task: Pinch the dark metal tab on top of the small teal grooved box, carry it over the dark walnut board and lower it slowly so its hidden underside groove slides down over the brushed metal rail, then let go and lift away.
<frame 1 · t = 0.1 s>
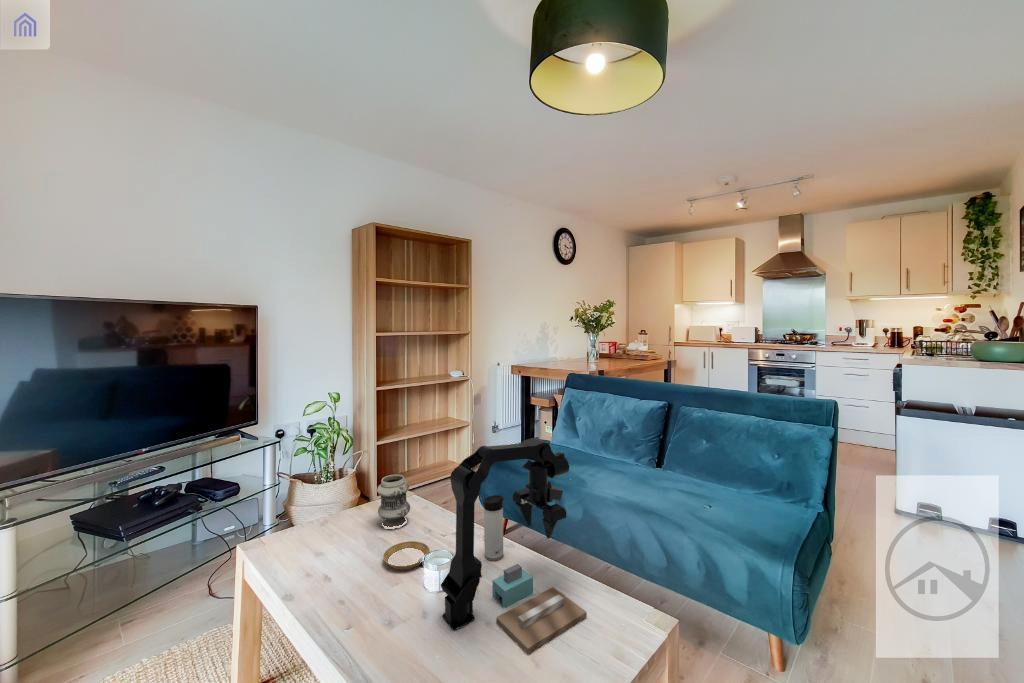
hand: (538, 531, 127), 14 cm above the table, tool pointing down, fingers open, 9 cm apart
grooved box: (513, 595, 120), on the table
apothecary jar: (394, 524, 163), on the table
travel mug: (494, 556, 140), on the table
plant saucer: (406, 561, 138), on the table
cleat board: (541, 620, 110), on the table
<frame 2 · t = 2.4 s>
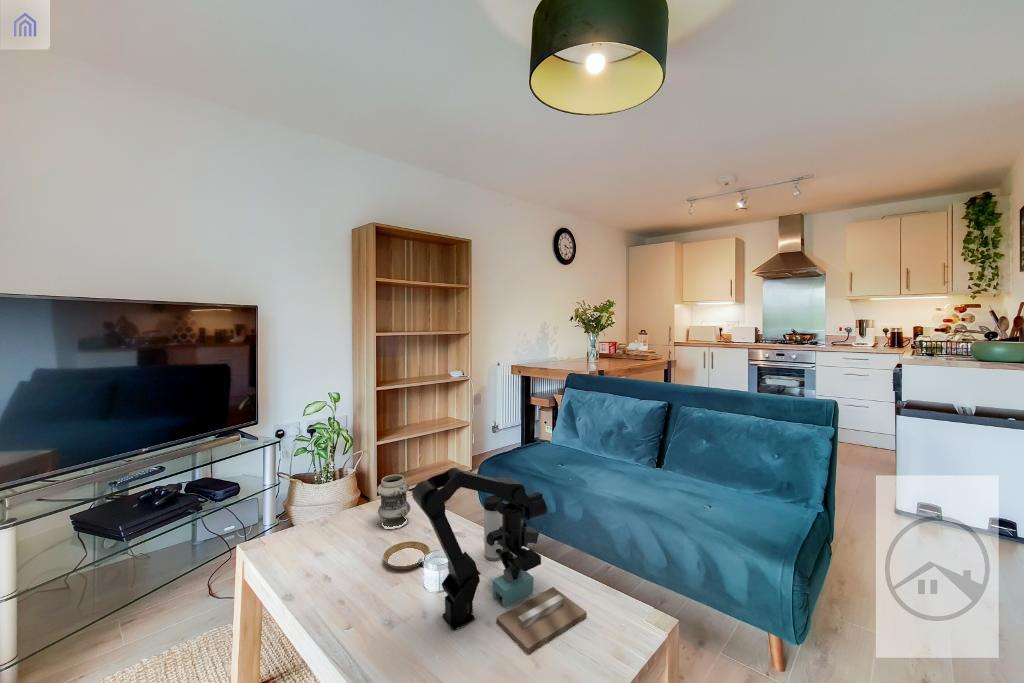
hand: (512, 577, 120), 5 cm above the table, tool pointing down, fingers closed on grooved box
grooved box: (513, 595, 120), on the table, touching gripper
everything else where it was.
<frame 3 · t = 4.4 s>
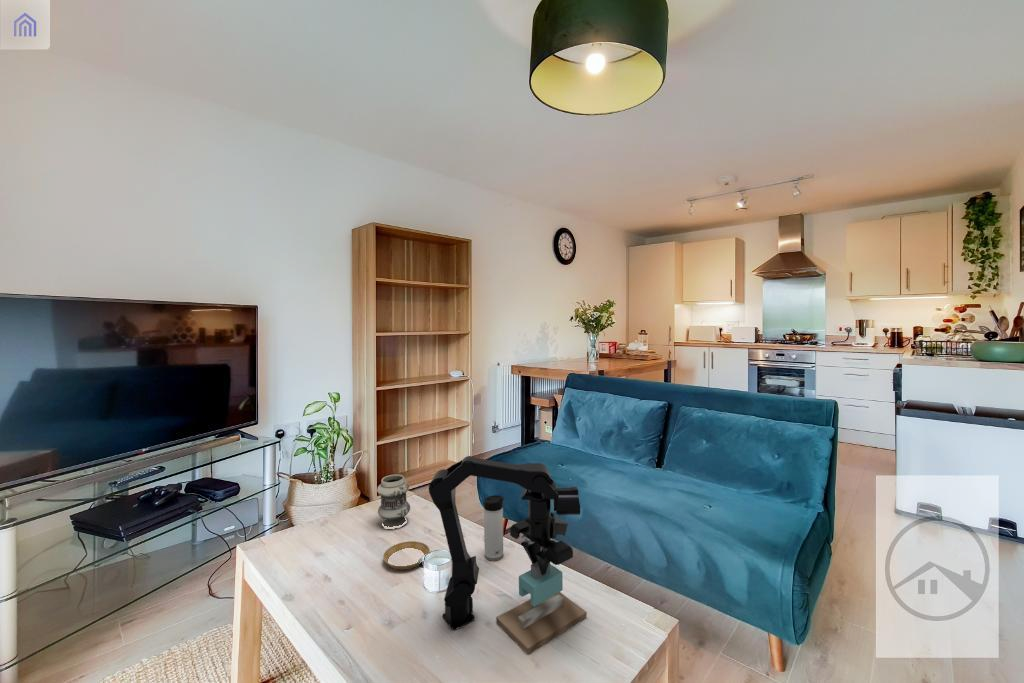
hand: (540, 572, 110), 13 cm above the table, tool pointing down, fingers closed on grooved box
grooved box: (540, 592, 111), point 7 cm above the table, touching gripper
everything else where it was.
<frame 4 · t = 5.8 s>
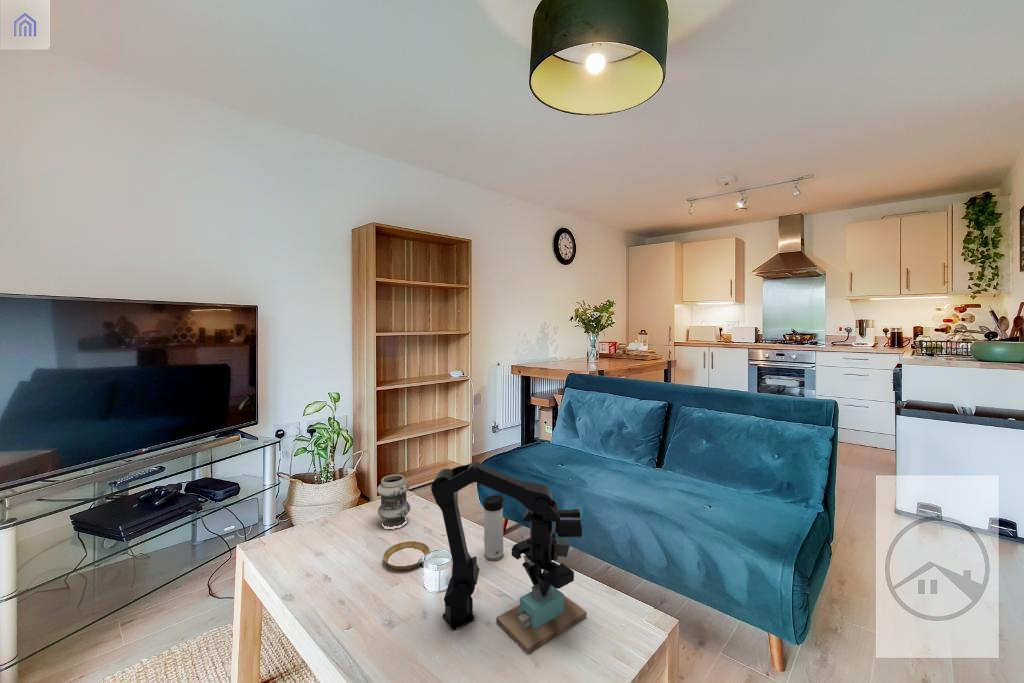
hand: (541, 593, 110), 7 cm above the table, tool pointing down, fingers closed on grooved box
grooved box: (541, 614, 110), point 2 cm above the table, touching cleat board, gripper
everything else where it was.
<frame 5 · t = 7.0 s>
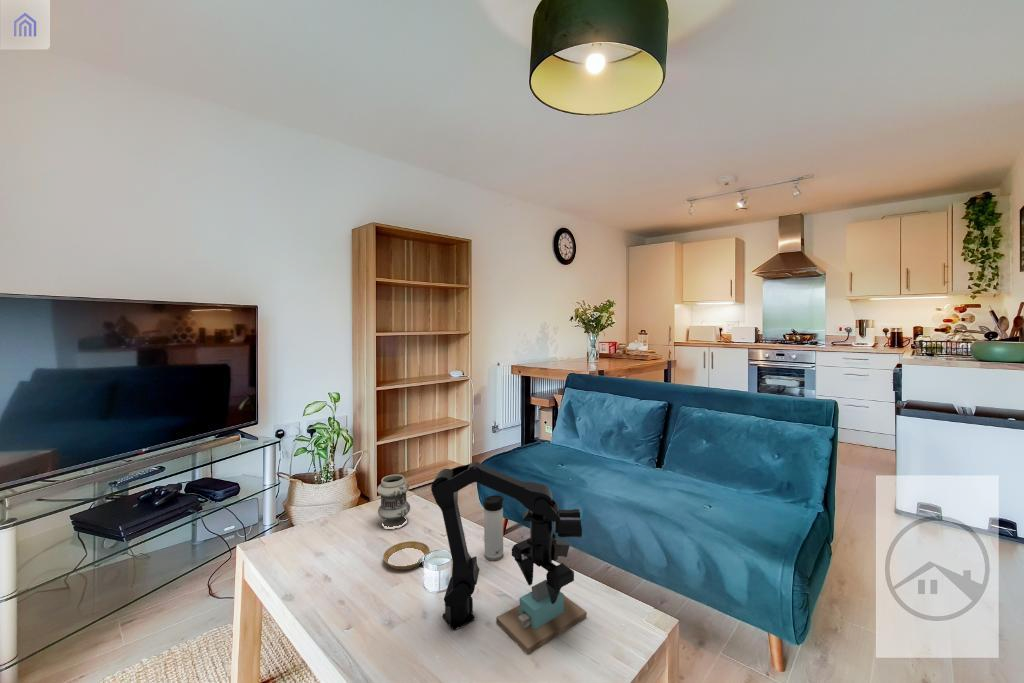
hand: (541, 593, 110), 7 cm above the table, tool pointing down, fingers open, 9 cm apart
grooved box: (541, 614, 110), point 1 cm above the table, touching cleat board
everything else where it was.
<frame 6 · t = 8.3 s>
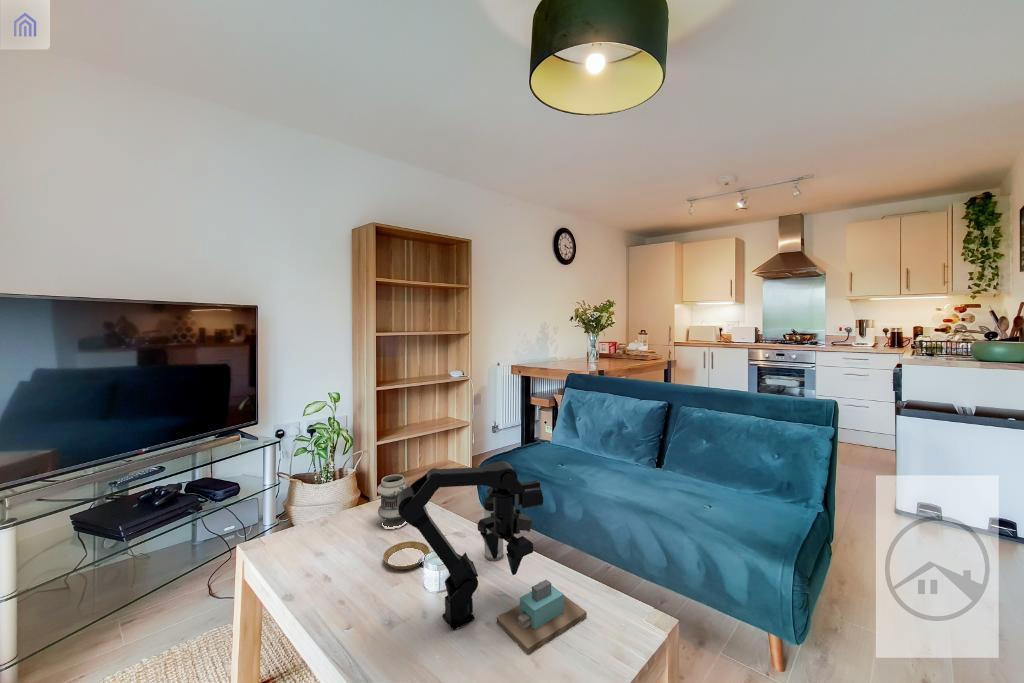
hand: (504, 566, 114), 12 cm above the table, tool pointing down, fingers open, 9 cm apart
nothing on the table moved.
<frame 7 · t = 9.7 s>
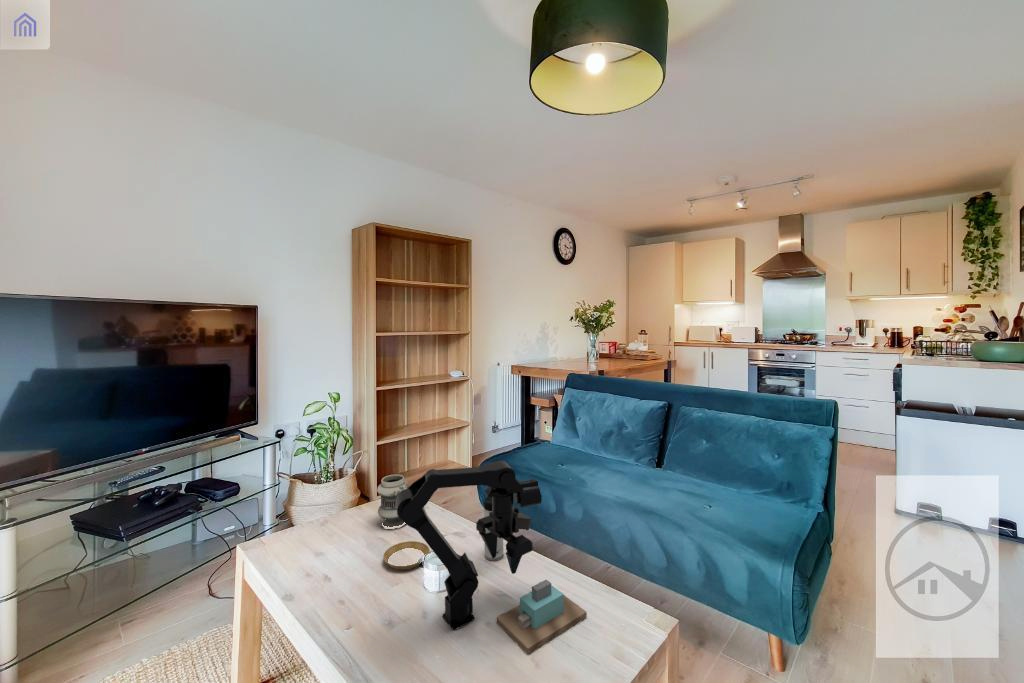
hand: (503, 565, 115), 12 cm above the table, tool pointing down, fingers open, 9 cm apart
nothing on the table moved.
at the end: grooved box 0.1 cm off-centre on the cleat board, point 1.5 cm above the cleat board's base; grooved box tilted 0°; the gripper is holding nothing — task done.
